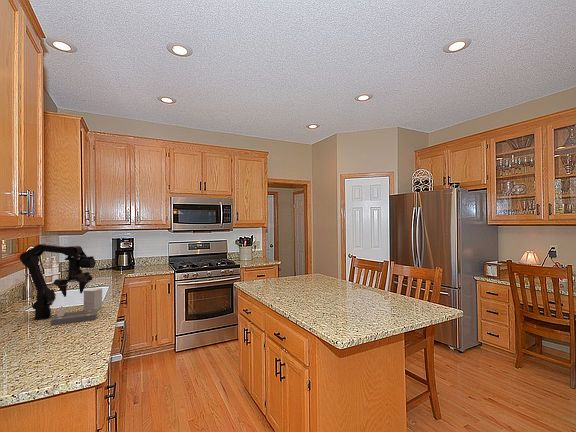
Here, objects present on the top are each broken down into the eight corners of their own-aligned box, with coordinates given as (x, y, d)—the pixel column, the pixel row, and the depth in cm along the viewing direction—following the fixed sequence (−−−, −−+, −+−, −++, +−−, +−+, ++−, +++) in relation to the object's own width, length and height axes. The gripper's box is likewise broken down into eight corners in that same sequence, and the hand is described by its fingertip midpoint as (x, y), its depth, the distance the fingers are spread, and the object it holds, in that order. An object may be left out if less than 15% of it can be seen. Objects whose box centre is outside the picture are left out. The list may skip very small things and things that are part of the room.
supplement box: (102, 308, 197) (102, 288, 198) (94, 311, 190) (94, 290, 190) (91, 307, 198) (92, 287, 198) (83, 310, 191) (83, 290, 191)
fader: (56, 317, 167) (57, 308, 167) (58, 314, 172) (58, 306, 172) (63, 316, 169) (63, 308, 169) (65, 313, 173) (65, 305, 173)
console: (50, 325, 163) (51, 319, 163) (55, 319, 174) (55, 314, 174) (95, 320, 173) (95, 314, 173) (96, 314, 183) (96, 309, 183)
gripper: (67, 271, 167) (65, 300, 166) (99, 266, 184) (98, 293, 184) (53, 269, 171) (52, 297, 170) (86, 265, 188) (85, 291, 188)
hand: (73, 294), depth 178 cm, fingers open, 9 cm apart
